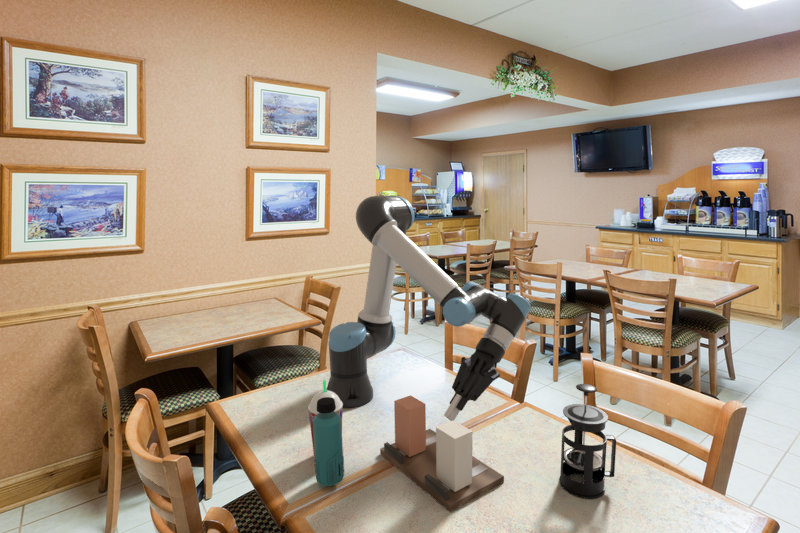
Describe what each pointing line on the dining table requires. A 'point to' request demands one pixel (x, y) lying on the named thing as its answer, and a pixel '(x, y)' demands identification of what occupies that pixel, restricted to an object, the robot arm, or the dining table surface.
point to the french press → (585, 449)
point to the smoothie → (313, 406)
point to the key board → (424, 474)
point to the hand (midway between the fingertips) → (448, 418)
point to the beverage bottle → (328, 443)
